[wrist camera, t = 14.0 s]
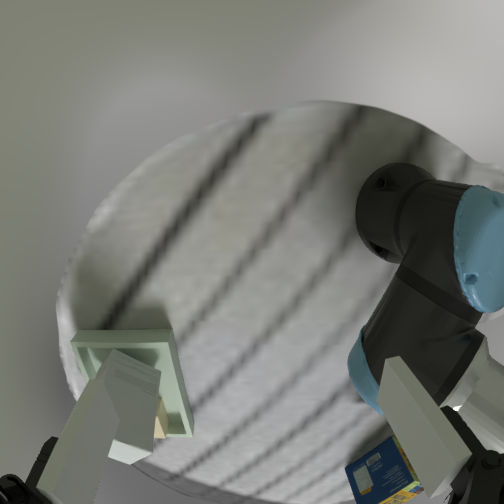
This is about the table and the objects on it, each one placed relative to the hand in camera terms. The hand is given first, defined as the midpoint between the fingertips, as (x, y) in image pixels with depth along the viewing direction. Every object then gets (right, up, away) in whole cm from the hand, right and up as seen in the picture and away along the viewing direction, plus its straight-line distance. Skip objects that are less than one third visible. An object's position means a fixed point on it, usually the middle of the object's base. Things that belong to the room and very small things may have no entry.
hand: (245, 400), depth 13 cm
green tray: (-20, -17, +37) cm, 45 cm away
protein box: (+32, -46, +49) cm, 75 cm away
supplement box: (-20, -13, +33) cm, 41 cm away
